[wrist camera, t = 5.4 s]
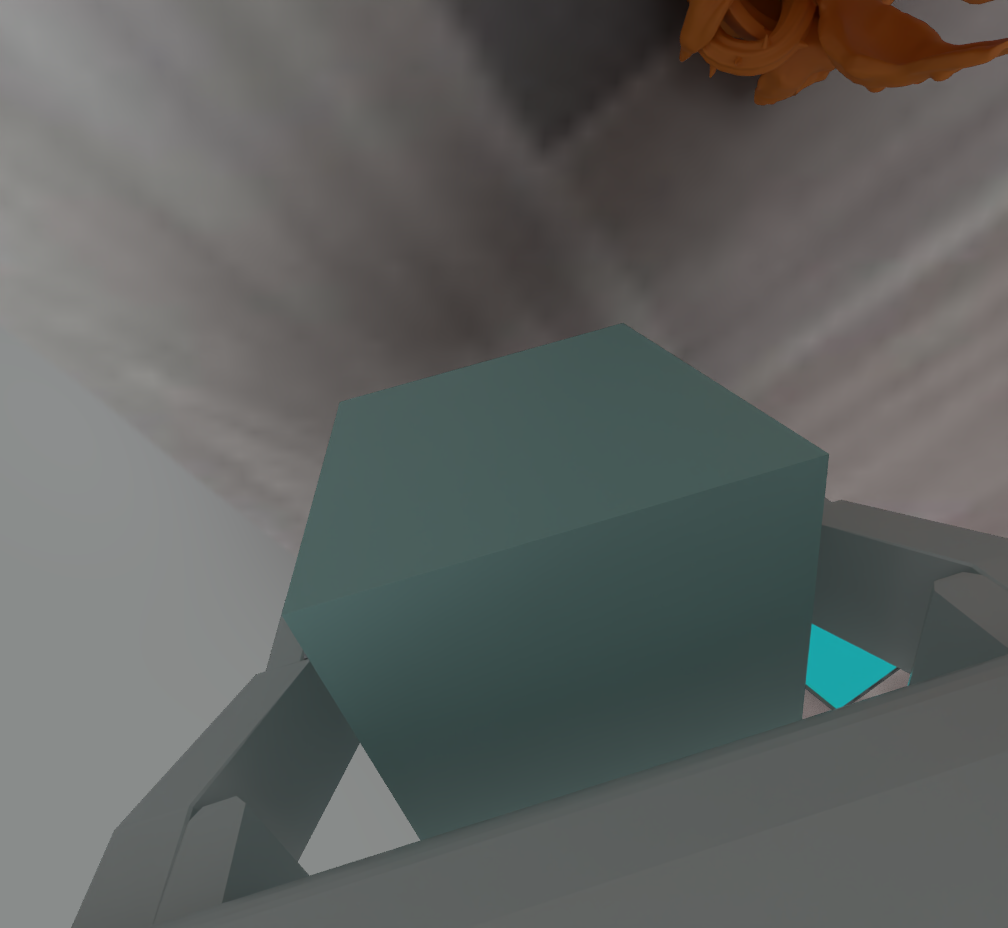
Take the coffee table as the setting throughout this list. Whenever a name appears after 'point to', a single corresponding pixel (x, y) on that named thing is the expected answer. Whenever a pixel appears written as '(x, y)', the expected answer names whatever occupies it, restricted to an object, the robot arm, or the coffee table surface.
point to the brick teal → (556, 574)
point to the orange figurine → (823, 44)
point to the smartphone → (841, 669)
